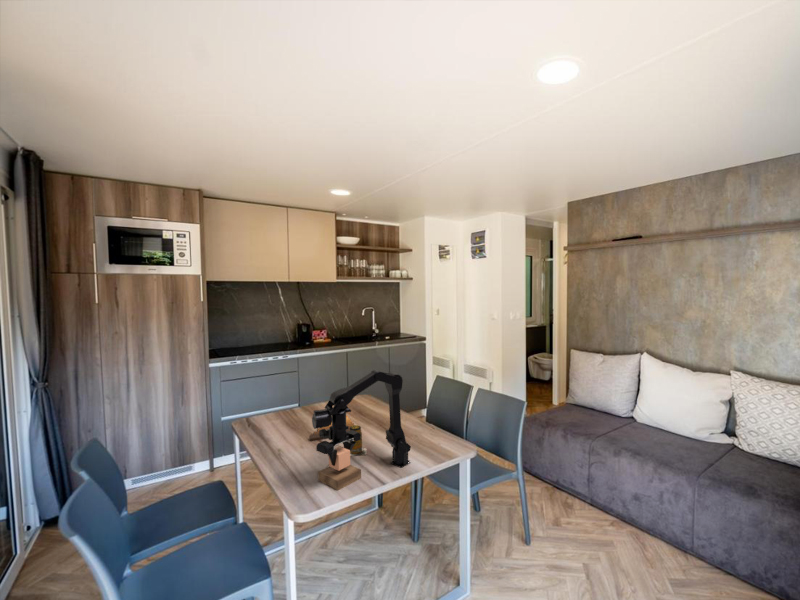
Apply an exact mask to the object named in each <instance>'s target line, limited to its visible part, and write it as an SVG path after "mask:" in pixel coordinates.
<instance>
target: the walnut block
mask: <svg viewBox="0 0 800 600" xmlns="http://www.w3.org/2000/svg"><path fill="white" fill-rule="evenodd" d="M317 474H318V475H317V477H318V479H317V480H318V481H319V482H320V483H322V484H324V485H326V486H328V487H329V488H332V489H334V490H336V491H340V490H342V489H345V487H347V486H350V485H352V484H353V483H355V482H357V481H359V480H361V479H362V469H361V468H359V467H356V466H354V465H352V464H350V465H349V466H347V467H345V468H343V469H341V470H339V471H338V470H336V469H334V468H332V467H330V466H329V465H328V467H325V468H323V469H321V470H318V471H317Z"/></svg>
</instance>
